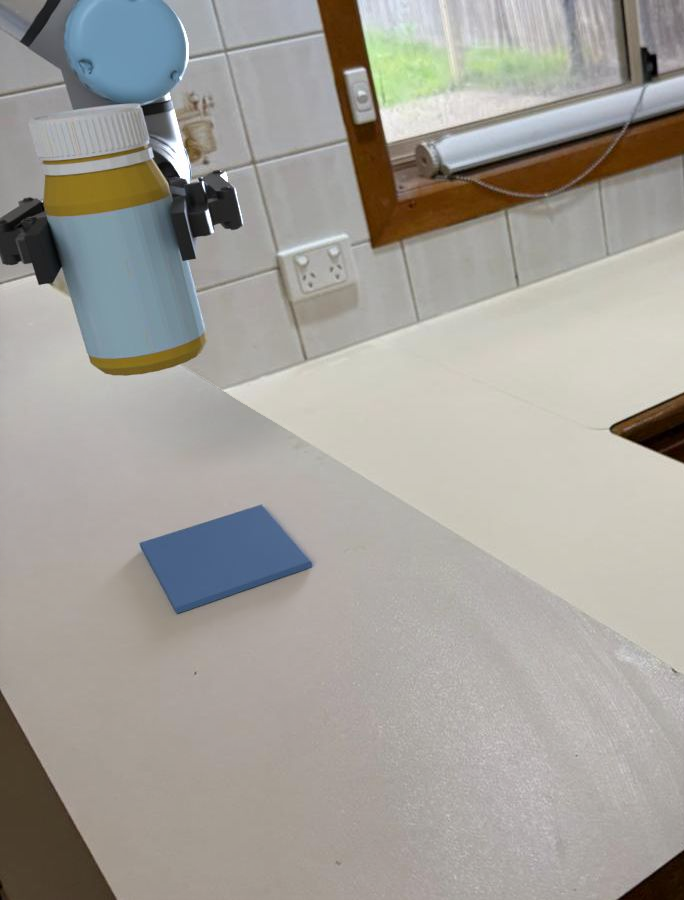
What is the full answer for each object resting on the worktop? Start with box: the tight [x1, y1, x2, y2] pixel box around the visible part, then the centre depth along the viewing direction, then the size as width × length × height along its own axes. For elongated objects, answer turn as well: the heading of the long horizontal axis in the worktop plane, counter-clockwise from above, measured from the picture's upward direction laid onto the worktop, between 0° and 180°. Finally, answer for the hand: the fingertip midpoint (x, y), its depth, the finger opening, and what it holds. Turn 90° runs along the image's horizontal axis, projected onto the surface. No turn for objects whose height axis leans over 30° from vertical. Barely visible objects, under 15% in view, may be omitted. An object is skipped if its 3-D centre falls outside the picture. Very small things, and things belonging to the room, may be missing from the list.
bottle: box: [27, 104, 208, 377], centre depth 68 cm, size 7×7×15 cm
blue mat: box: [139, 504, 313, 615], centre depth 67 cm, size 10×8×1 cm
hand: (112, 248), depth 64 cm, fingers closed on bottle, 7 cm apart
